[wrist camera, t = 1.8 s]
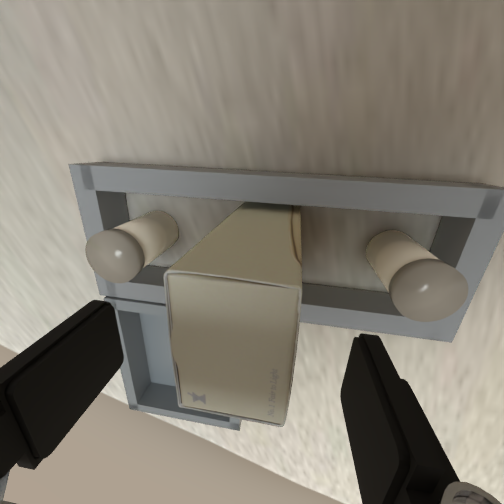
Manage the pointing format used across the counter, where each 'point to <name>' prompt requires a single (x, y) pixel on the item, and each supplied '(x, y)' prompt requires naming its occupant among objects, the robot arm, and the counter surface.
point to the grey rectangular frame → (319, 195)
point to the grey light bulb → (131, 246)
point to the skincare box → (238, 315)
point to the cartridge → (416, 277)
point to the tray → (153, 363)
